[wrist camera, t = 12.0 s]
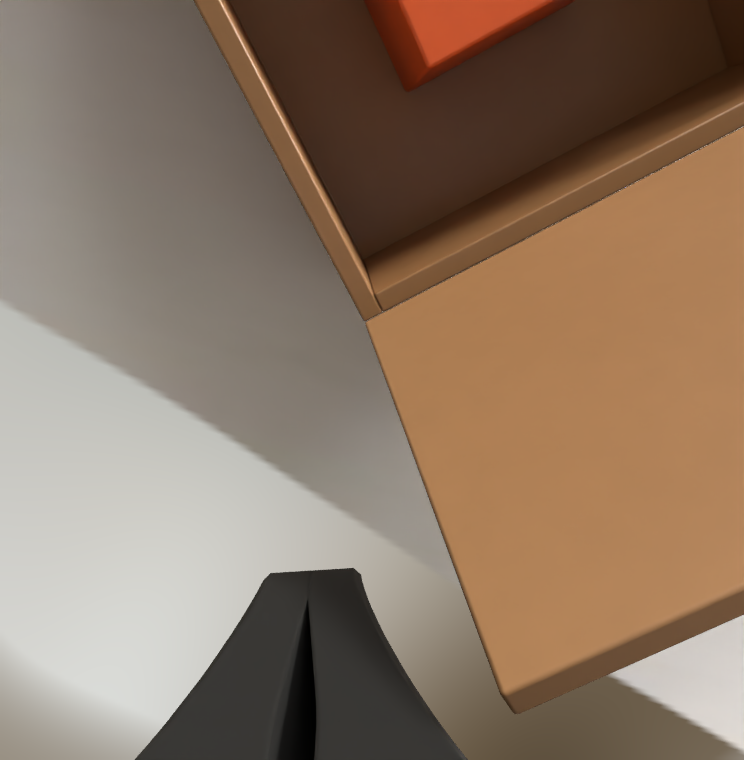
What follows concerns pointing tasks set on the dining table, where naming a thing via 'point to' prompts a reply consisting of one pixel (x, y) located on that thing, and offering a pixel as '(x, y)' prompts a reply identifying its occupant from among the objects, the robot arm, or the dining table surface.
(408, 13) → the block
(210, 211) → the dining table surface
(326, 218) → the box
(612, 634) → the flap
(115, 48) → the dining table surface
